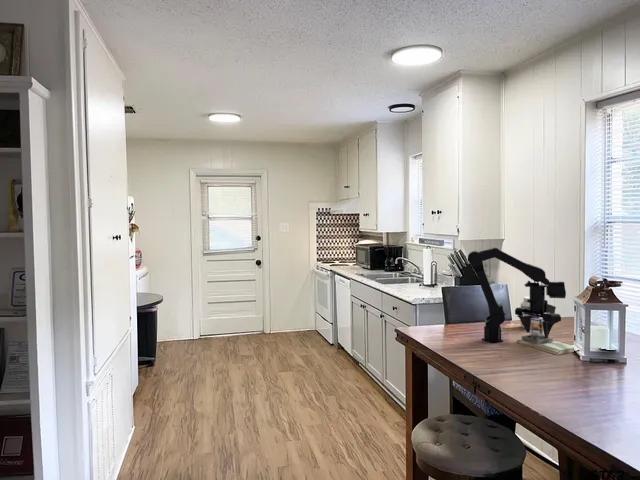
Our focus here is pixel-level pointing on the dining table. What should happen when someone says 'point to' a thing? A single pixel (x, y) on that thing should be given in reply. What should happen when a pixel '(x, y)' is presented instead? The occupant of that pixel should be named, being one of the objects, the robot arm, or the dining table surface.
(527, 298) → the pill bottle
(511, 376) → the dining table surface
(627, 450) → the dining table surface
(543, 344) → the pocket board
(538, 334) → the steel tin
